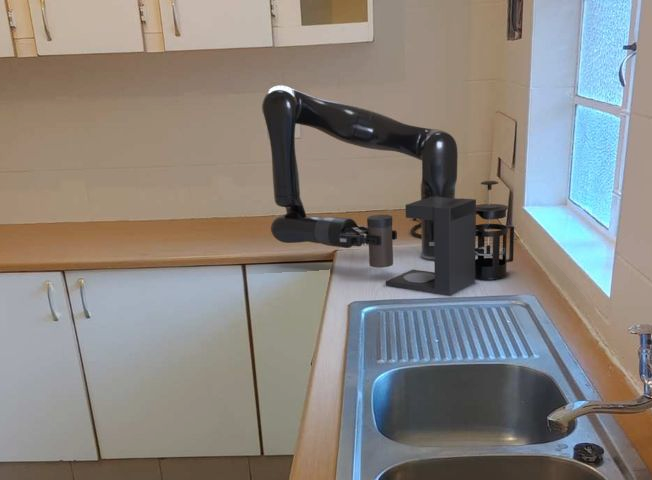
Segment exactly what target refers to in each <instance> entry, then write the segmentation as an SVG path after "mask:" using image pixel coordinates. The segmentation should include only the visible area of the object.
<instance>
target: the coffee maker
mask: <svg viewBox="0 0 652 480" xmlns="http://www.w3.org/2000/svg"><path fill="white" fill-rule="evenodd" d="M476 205H477V199H476V198H475V199H474V198H461V197H460V198H457V197H455V198H441V197H429V198H426V199H422V200H421V199H420V200H416V201H413V202H410V203H407V204H405V219H416V220H420V219H425V220H434V259H435V260H434V271H427V270H420V269H411V270H408V271H406V272H404V273H401V274H399V275H396V276H394V277H391V278H390V279H387V280H386V281H385V286H386V287H391V288H398V289H405V290H410V291H411V290H412V291H417V292H425V293H431V294H436V295H443V296H448V297H449V296H453V294H456V293H457V292H459V291H462V290H464V289H466V288H467V287H470V286H471V285H473V284H475V283H476V279H475V259H476V255H475V248H476V247H477V246H476V245H477V244H476V242H477V240H476V239H477V238H476V237H477V236H476V231H477V230H476V225H477V215H476Z"/></svg>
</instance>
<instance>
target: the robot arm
mask: <svg viewBox="0 0 652 480" xmlns="http://www.w3.org/2000/svg"><path fill="white" fill-rule="evenodd" d="M261 110H262V112H261V113H262V114H263V118H264V122H265V125H266V129H267V133H268V138H269V144H270V152H271V168H272V169H271V172H272V185H273V186H272V187H273V199H274V203H275V204H276V206H278V207H281V208H285V211H286V213H284V214H282V215H279V216H277V217H275V218H274V219H273V220H272V222H271V224H270V232H271V234H272V236H273V237H274V239H275V240H276V241H278V242H281V243H284V244H295V243H296V244H297V243H298V244H299V243H313V244H320V245H324V246H329V247H336V248H344V249H349V248H352V247H362V246H367V245H369V244H371V245H381V236H375V235H368V226H367V225H365V224H364V225H363V224H362V225H361V224H360V225H358V224H357V222H356V221H355V220H354V219H353V218H348V217H338V216H318V215H309V216H308V215H307V213H306V210H305V206H304V203H303V201H302V198H301V186H300V174H299V173H300V172H299V166H298V161H297V154H296V143H295V142H296V140H295V139H296V138H295V137H296V125H301V126H306V127H308V128H309V127H310V128H312V129H313V128H314V129H316V130H318V131H319V132H322V133H324V134H325V135H328V136H329V137H332V138H334V139H336V140H337V141H339V142H343V143H345V144H349V145H353V146H357V147H359V148H365V149H370V150H377V151H386V152H396V153H400V154H402V155H403V154H404V155H407V156H409V157H412V158H414V159H417V160H420V161H421V183H420V200H422V199H426V198H429V197H441V198H456V186H457V181H458V180H457V179H458V156H459V155H458V144H457V141H456V139H455V138H454V136H452V135H451V134H450V133H448V132H446V131H444V130H442V129H437V128H428V127H420V126H416V125H411V124H406V123H403V122H401V121H398V120H397V119H394V118H391V117H389V116H386V115H384V114H381V113H379V112H375V111H373V110H369V109H365V108H362V107H358V106H354V105H349V104H346V103H340V102H337V101H330V100H325V99H321V98H317V97H314V96H312V95H308V94H306V93H303V92H301V91H298V90H296V89H294V88H291V87H289V86H286V85H275V86H273V87H271V88H270V89H268V90H267V92H266V93H265V95H264V97H263V99H262V103H261ZM412 220H413V221H417V219H414V218H412ZM419 221H421V222H420V223H417V224H415V225H413V226H412V227H411V229H410V233H411V235H412V236H415V237H417V238H421V255H420V256H421V258H423V259H425V260H433V261H435V259H434V220H425V219H419ZM420 227H421V229H420V231H421V232H420V233H417V232H415V230H416V229H418V228H420ZM397 239H398V232H397V230H394V229H392V241H393V240H394V241H395V240H397Z"/></svg>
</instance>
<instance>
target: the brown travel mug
mask: <svg viewBox="0 0 652 480" xmlns="http://www.w3.org/2000/svg"><path fill="white" fill-rule="evenodd" d="M366 222H367V223H366V224H367V225H366V226H368V235H375V236H381V245H371V244H368V257H369V258H368V259H369V260H368V262H369V263H368V265H369V266H370V267H372V268H376V269H377V268H378V269H379V268H388V267H392V266H393V265H394V247H393V246H394V245H393V244H394V241H393V240H392V230H393V216H392V215H390V214H373V215H369V216H367V217H366Z"/></svg>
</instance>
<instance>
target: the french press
mask: <svg viewBox="0 0 652 480" xmlns="http://www.w3.org/2000/svg"><path fill="white" fill-rule="evenodd" d="M499 183H500V182H499V181H496V180H485V181H481V182H480V184H481V185H483V186H487V191H488V203H484V204H483V203H481V204H476V216H479V217H480V218H481V219H482V220H487V223H479V224H476V237H477V246H476V248H475V256H477V258H475V280H477V281H497V280H502V279H505V278H506V277H507V276H508V272H507V266H508V265H507V263H512V262H514V253H515V252H514V250H515V249H514V247H515V226H514V225H511V224H508V225H506V224H502V223H491V221H490V220H501V219H504V218H506V217H507V210H508V209H509V206H508V205H507V204H499V203H491V191H492V189H493V188H492V187H493V185H494V186H495V185H498V184H499ZM508 229H509V250H508V251H509V252H508V258H507V241H508V235H507V234H508ZM485 230H486V231H485ZM501 237H502V247H501ZM485 238H487V245H485ZM490 238H492V245H491V244H490ZM500 256H502V257H501V258H500Z"/></svg>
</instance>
